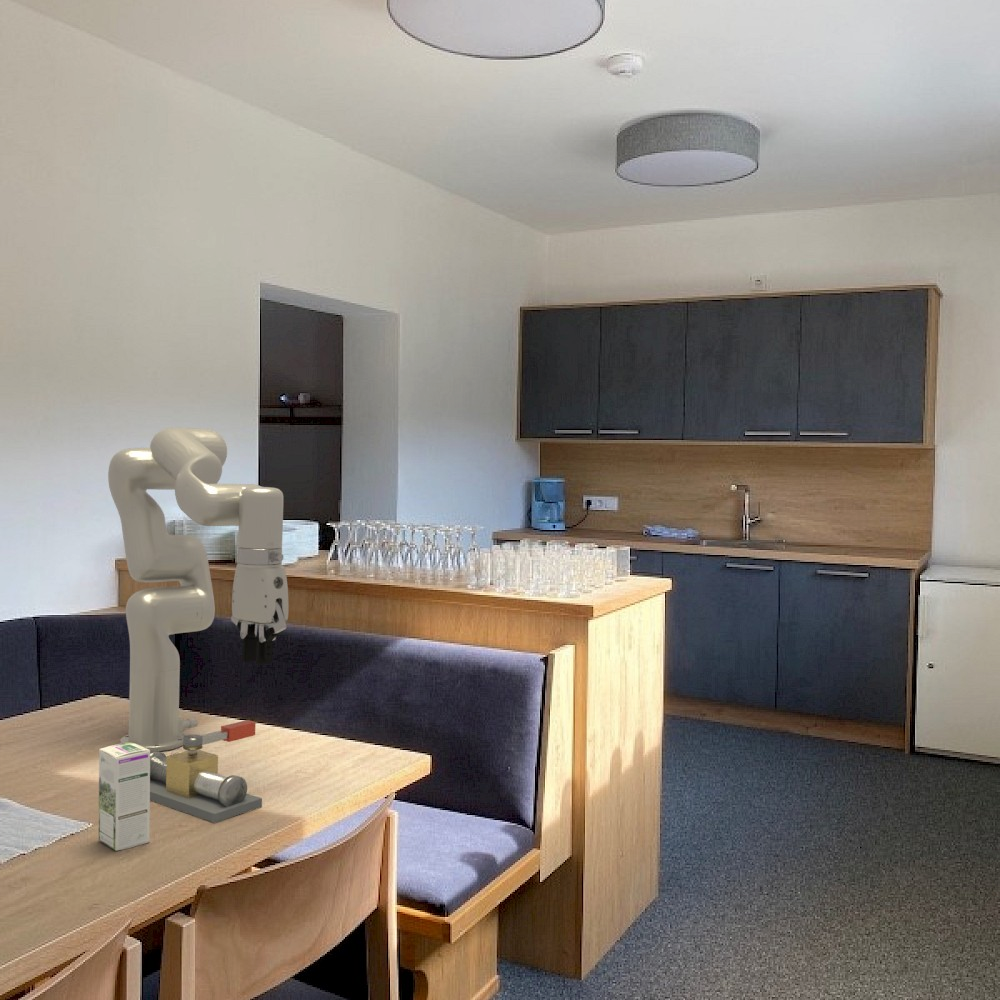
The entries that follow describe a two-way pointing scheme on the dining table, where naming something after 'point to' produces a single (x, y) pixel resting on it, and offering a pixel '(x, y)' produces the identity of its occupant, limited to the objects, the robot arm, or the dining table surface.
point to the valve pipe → (197, 777)
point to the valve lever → (219, 736)
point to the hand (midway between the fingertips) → (257, 661)
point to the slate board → (201, 803)
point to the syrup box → (124, 795)
